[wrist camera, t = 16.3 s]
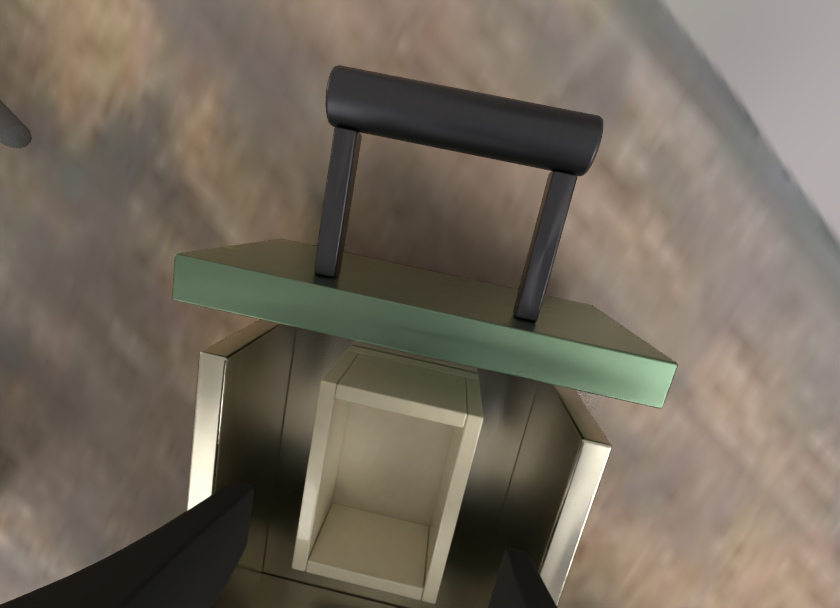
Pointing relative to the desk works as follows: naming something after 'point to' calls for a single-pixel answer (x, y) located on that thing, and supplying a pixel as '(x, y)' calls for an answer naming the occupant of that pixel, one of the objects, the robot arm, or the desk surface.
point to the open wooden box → (387, 472)
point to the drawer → (414, 355)
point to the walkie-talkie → (12, 129)
